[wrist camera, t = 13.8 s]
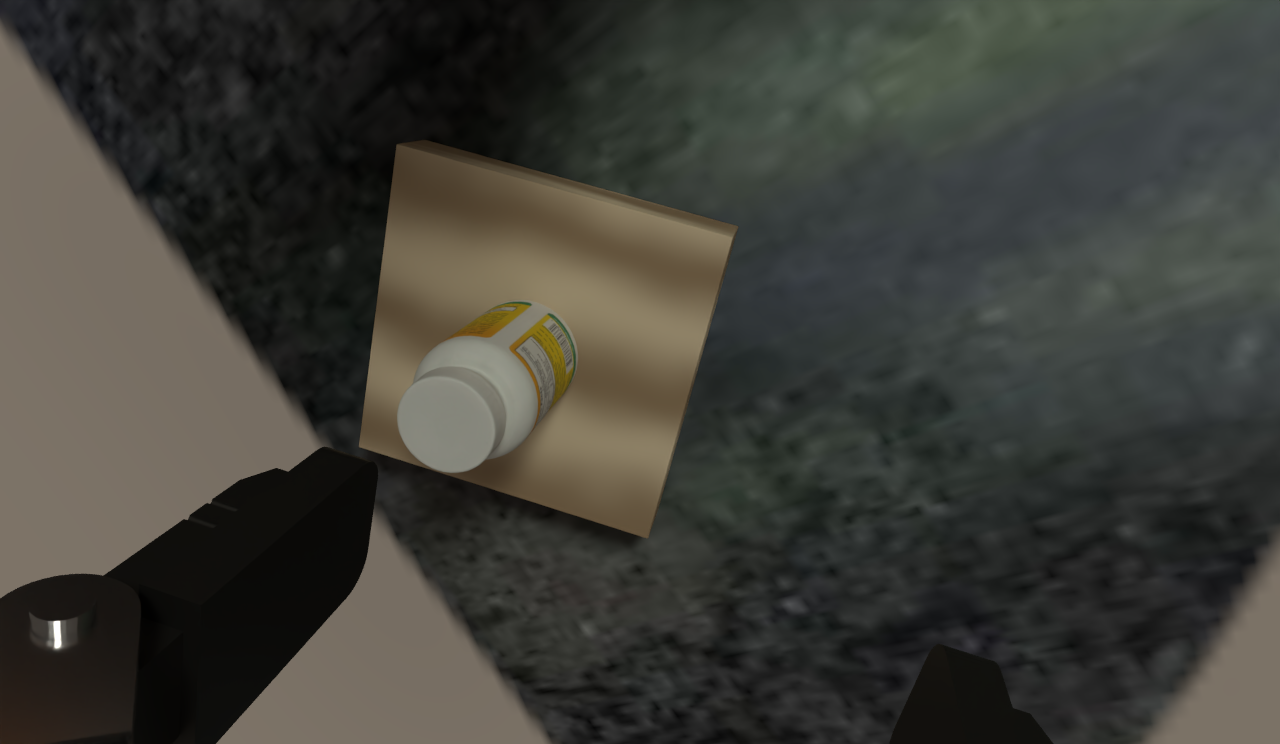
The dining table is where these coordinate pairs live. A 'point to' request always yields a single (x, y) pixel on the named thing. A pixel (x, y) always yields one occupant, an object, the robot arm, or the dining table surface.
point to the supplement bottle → (487, 386)
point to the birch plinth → (573, 288)
